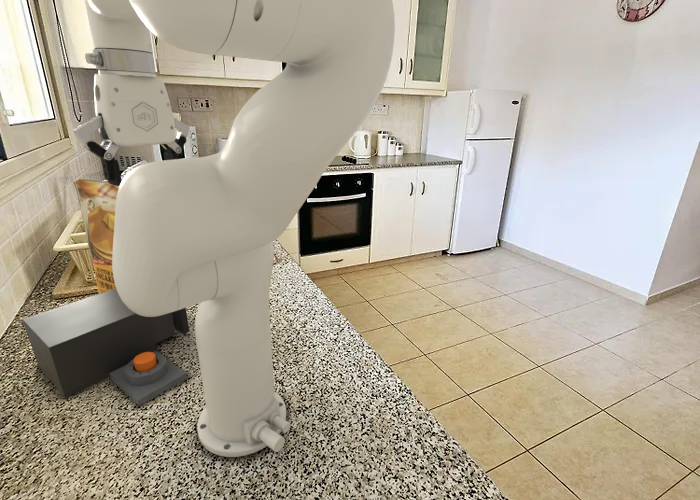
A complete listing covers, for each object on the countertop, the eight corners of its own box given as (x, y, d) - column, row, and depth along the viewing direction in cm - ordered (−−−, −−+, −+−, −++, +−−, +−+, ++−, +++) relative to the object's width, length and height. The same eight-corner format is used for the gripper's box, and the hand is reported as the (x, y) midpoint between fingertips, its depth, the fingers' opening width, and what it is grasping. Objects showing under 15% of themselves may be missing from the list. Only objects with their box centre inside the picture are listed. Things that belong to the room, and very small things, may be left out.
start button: (160, 365, 63) (158, 356, 62) (141, 375, 60) (139, 366, 60) (150, 357, 65) (149, 349, 64) (131, 367, 62) (129, 358, 62)
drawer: (178, 305, 85) (173, 274, 82) (208, 322, 78) (204, 289, 76) (91, 341, 71) (81, 305, 69) (118, 365, 65) (108, 327, 62)
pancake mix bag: (114, 287, 94) (87, 176, 84) (168, 304, 87) (147, 184, 77) (86, 299, 88) (55, 181, 78) (143, 318, 81) (116, 191, 71)
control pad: (187, 378, 64) (184, 364, 63) (139, 406, 58) (135, 390, 57) (157, 355, 69) (154, 342, 68) (110, 378, 63) (106, 364, 62)
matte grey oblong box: (125, 329, 77) (115, 288, 73) (156, 353, 70) (147, 308, 66) (38, 366, 66) (22, 319, 62) (65, 398, 59) (48, 347, 55)
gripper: (70, 59, 47) (100, 192, 53) (194, 70, 60) (205, 176, 67) (47, 60, 51) (77, 184, 57) (168, 70, 64) (181, 170, 70)
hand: (146, 180), depth 62 cm, fingers open, 9 cm apart
